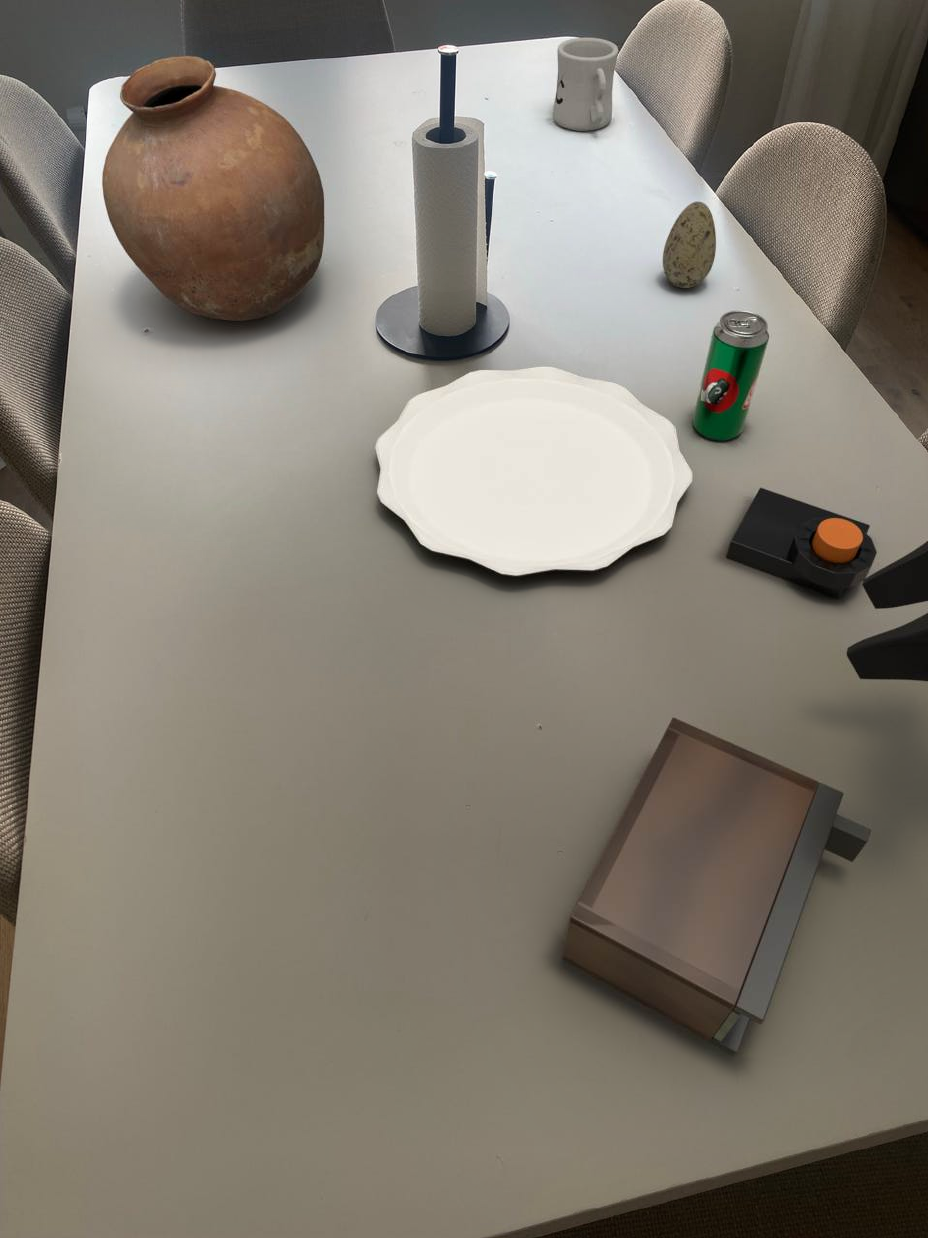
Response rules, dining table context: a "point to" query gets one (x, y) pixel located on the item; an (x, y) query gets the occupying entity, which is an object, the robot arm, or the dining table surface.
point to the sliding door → (847, 838)
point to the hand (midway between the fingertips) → (861, 627)
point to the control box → (796, 545)
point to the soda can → (730, 374)
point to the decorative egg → (690, 246)
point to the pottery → (212, 193)
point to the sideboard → (703, 884)
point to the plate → (532, 471)
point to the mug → (585, 83)
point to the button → (837, 540)
